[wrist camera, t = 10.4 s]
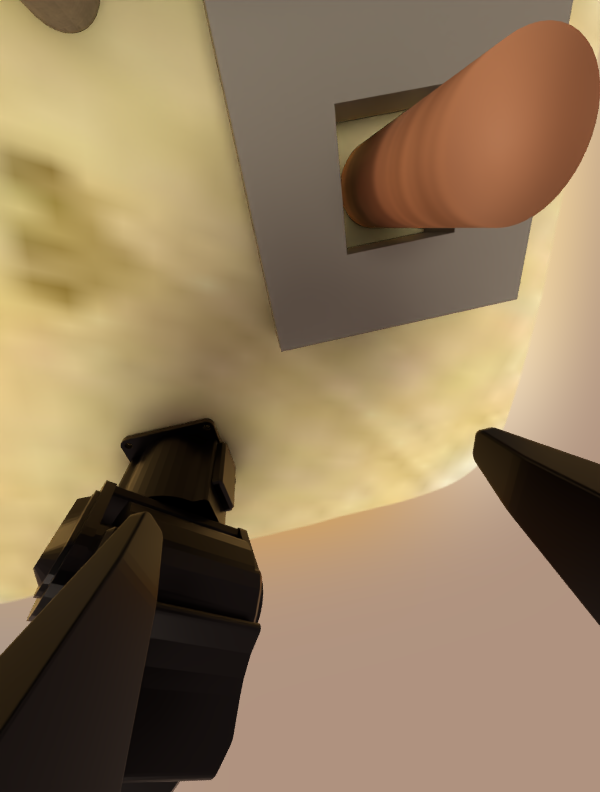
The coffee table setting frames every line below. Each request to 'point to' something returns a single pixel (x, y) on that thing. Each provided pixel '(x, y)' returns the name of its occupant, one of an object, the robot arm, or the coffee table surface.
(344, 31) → the socket deck
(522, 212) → the peg
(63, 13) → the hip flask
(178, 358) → the coffee table surface
